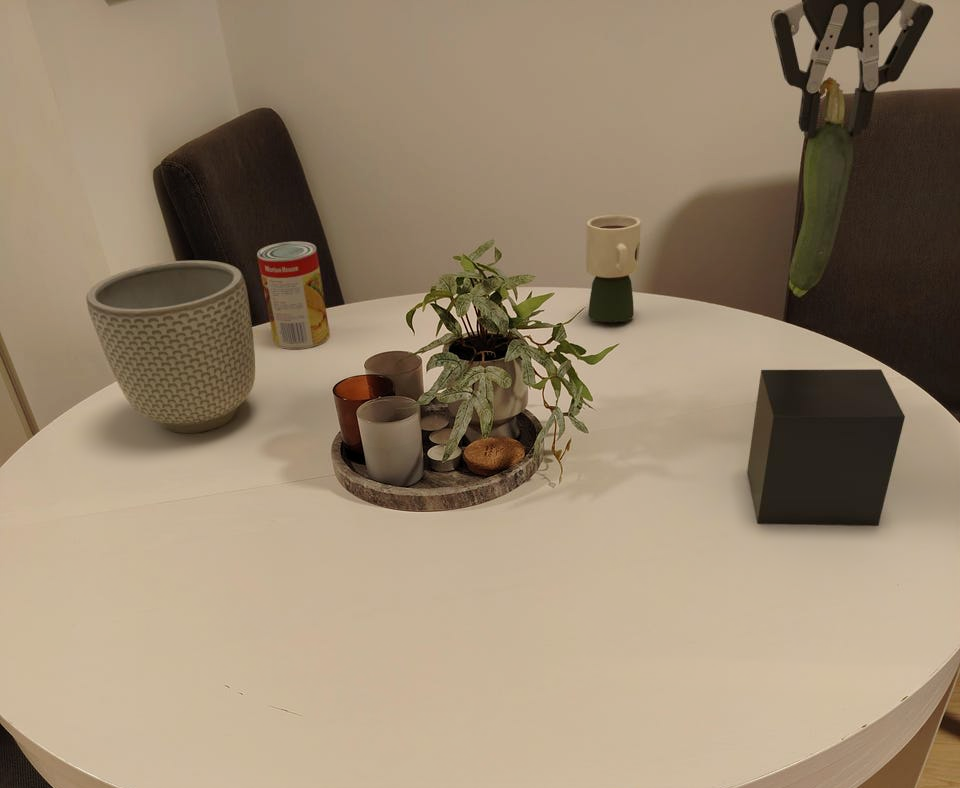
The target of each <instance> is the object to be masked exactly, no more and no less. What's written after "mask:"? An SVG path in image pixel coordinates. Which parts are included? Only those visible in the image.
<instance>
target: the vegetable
mask: <svg viewBox="0 0 960 788" xmlns="http://www.w3.org/2000/svg"><path fill="white" fill-rule="evenodd" d="M840 86H841V84H840V83H838V82H837V79H834V78H832V77H827V79H824V81H822V83H821V86H820V89H819V92H820V93H821V97H823V96H824V99H823V109H822V114H823V118H824V121H825V122H824V123H823V124H822V125H821V126H819V127H816V132H815V137H814V138H808V141H807V144H806V149H805V152H804V160H803V161H804V162H803V163H804V164H803V204H804V206H803V207H804V208H803V217H802V223H801V227H800V230H799V233H798V237H797V240H796V244H795V248H794V252H793V256H792V260H791V263H790V266H789V269H788V276H789V281H788V286H789V289H790V290H791V291H792V293H793V294H794V296H796V297H797V298H801V297H802V296H804V295H805V294H807V292H808V291H809V290H810V289H812V288H813V287H815V286H816V285H817V284H818V283H819V282H820V280H821V279H822V277H823V275H824V273H825V270H826V268H827V265H828V263H829V261H830V258H831V256H832V252H833V250H834V245H835V241H836V236H837V233H838V229H839V226H840V225H839V224H840V221H841V216H842V213H843V208H844V204H845V199H846V195H847V191H848V187H849V181H850V176H851V171H852V166H853V158H854V157H853V156H854V141H853V137H851V134H850V132H849V129H848V128H847V127H846V126H845V125H844V123H845V122H846V121H845V116H846V111H845V110H846V109H845V96H844V95H843V94H844V93H843V92H844V90H842V89H840Z"/></svg>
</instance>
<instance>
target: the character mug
mask: <svg viewBox="0 0 960 788" xmlns="http://www.w3.org/2000/svg"><path fill="white" fill-rule="evenodd" d="M641 224H642V222H641V218H639V217H636V216H633V215H629V214H628V215H627V214H604V215H600V216H595V217H592V218H590V219H589V220H588V221H586V243H585V244H586V247H585V248H586V249H585V250H586V251H585V253H586V254H585V256H586V257H585V262H586V263H585V265H586V272H587V273H588V274H589V275H591V276H593V277H594V278H593V280H592V284H591V290H590V296H589V303H588V313H587V316H588V318H589V320H592V321H594V322H604V323H605V322H606V323H609V322H610V323H611V324H615V323H616V322H628V321H630V320H632V319H633V318H634V316H635V309H634V296H633V295H634V294H633V285H632V280H631V277H630V275H631V274H634V273H635V272H636V271H637V270H638V269H639V266H640V246H641V245H640V244H641V227H642V225H641Z"/></svg>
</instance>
